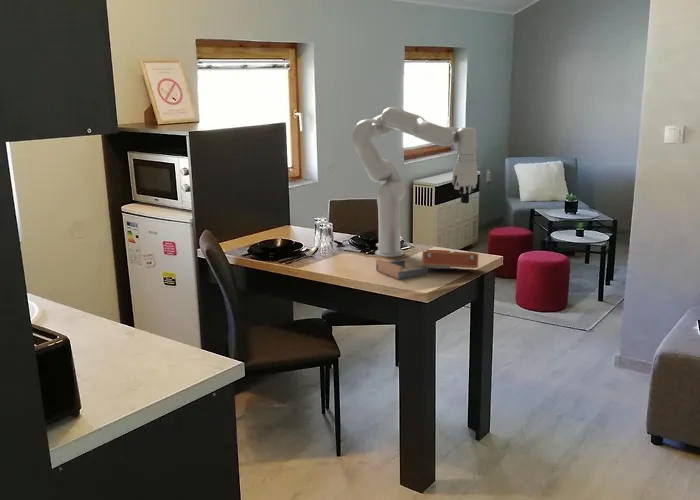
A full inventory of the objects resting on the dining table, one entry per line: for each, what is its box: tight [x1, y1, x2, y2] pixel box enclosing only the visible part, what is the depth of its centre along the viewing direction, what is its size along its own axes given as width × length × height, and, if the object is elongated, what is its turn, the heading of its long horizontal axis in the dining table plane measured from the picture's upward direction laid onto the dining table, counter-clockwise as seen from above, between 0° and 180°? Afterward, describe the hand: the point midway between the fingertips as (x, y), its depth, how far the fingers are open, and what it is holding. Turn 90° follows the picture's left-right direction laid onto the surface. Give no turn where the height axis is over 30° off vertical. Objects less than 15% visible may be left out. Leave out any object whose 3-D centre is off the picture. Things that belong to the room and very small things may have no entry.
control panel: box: [421, 249, 479, 270], centre depth 261 cm, size 21×7×15 cm
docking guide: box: [375, 258, 428, 281], centre depth 260 cm, size 16×13×5 cm
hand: (464, 202), depth 272 cm, fingers closed
